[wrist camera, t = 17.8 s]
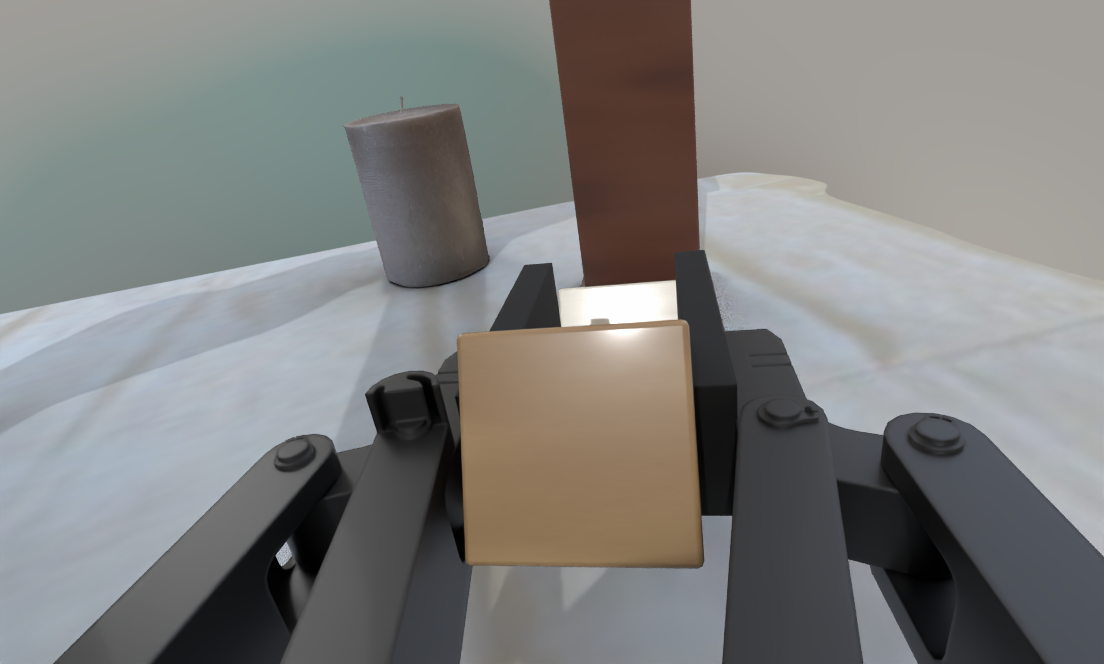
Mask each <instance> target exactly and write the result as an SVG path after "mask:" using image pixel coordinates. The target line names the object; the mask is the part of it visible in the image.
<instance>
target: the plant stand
mask: <svg viewBox="0 0 1104 664" xmlns="http://www.w3.org/2000/svg"><path fill="white" fill-rule="evenodd" d="M549 2H550V9H551V18H552V26H553V34H554V42H555V50H556V58H557V66H558V74H559V82H560V90H561V98H562V106H563V114H564V122H565V130H566V138H567V146H568V154H569V162H570V170H571V178H572V186H573V194H574V202H575V210H576V218H577V226H578V234H579V242H580V250H581V258H582V266H583V274H584V277H583V280H582V284H581V287H591V286H604V285H618V284H631V283H644V282H657V281H669V280H676V278H675V260H674V252H686V251H697V250H700V245H699V217H698V189H697V161H696V135H695V134H696V133H695V106H694V79H693V51H692V50H693V49H692V25H691V24H692V23H691V22H692V21H691V0H549ZM705 255H706V254H705ZM706 259H707V258H706ZM707 263H708V262H707ZM708 267H709V266H708ZM709 271H710V270H709ZM710 275H711V274H710ZM711 279H712V278H711ZM712 283H713V282H712ZM713 287H714V286H713ZM714 292H715V290H714ZM715 296H716V294H715ZM716 300H717V298H716ZM717 304H718V302H717ZM718 308H719V306H718ZM719 312H720V310H719ZM720 316H721V314H720ZM721 320H722V318H721ZM722 324H723V322H722ZM723 328H724V326H723ZM724 331H725V330H724Z"/></svg>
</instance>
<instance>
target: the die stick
mask: <svg viewBox="0 0 1104 664" xmlns="http://www.w3.org/2000/svg"><path fill="white" fill-rule="evenodd" d="M558 296H559V314H560V321H561V327H553V328H537V329H521V330H505V331H489V332H474V333H463V334H461V335H459V336H458V339H457V351H458V378H459V404H460V431H461V457H462V484H463V510H464V536H465V559H466V562H467V564H469V565H474V566H545V567H616V568H688V569H697V568H700V567H702V566H703V563H704V549H703V534H702V518H701V502H700V487H699V471H698V456H697V440H696V425H695V409H694V394H693V378H692V363H691V347H690V332H689V325H688V323H687V321H685V320H682V319H679V320H678V315H677V296H676V280H669V281H657V282H644V283H631V284H618V285H604V286H591V287H578V288H565V289H559V291H558Z"/></svg>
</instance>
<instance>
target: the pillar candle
mask: <svg viewBox="0 0 1104 664" xmlns="http://www.w3.org/2000/svg"><path fill="white" fill-rule="evenodd" d="M344 128H345V130H346V133H347V137H348V140H349V144H350V147H351V151H352V154H353V158H354V162H355V165H356V169H357V172H358V176H359V179H360V183H361V187H362V190H363V194H364V198H365V201H366V205H367V208H368V212H369V216H370V219H371V223H372V227H373V231H374V234H375V237H376V241H377V244H378V248H379V251H380V255H381V258H382V262H383V266H384V269H385V273H386V276H387V279H388V281H391V282H394V283H396V284H399V285H402V286H405V287H425V286H432V285H438V284H443V283H447V282H450V281H454V280H457V279H459V278H463V277H465V276H467V275H470V274H471V273H473V272H475V271H477V270H479V269H481V268H483V267H484V266H486V265H487V263H489V260H490V259H489V257H490V256H489V255H488V251H487V246H486V240H485V235H484V228H483V221H482V219H481V214H480V210H479V205H478V197H477V192H476V187H475V182H474V176H473V171H472V166H471V161H470V155H469V150H468V145H467V141H466V135H465V130H464V126H463V121H462V116H461V112H460V108H459V105H458V104H441V105H432V106H422V107H417V108H410V109H404V110H403V97H400V110H399V111H394V112H388V113H382V114H378V115H373V116H369V117H365V118H362V119H358V120H355V121H352V122H349V123H347V124H345V126H344Z"/></svg>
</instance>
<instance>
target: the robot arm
mask: <svg viewBox="0 0 1104 664" xmlns="http://www.w3.org/2000/svg"><path fill="white" fill-rule="evenodd" d="M674 260H675V278H676V296H677V315H678V320H679V319H682V320H685V321H687V323H688V325H689V332H690V347H691V363H692V378H693V394H694V409H695V425H696V440H697V456H698V471H699V487H700V502H701V516H732V530H731V545H730V559H729V574H728V588H727V603H726V617H725V632H724V646H723V661H722V664H863V658H862V651H861V644H860V637H859V631H858V624H857V617H856V610H855V603H854V597H853V590H852V583H851V576H850V569H849V563H848V559H849V560H853V561H857V562H861V563H865V564H869V565H870V568H871V572H872V574H873V576H874V578H875V580H876V582H877V584H878V586H879V588H880V590H881V592H882V594H883V596H884V598H885V600H886V602H887V604H888V606H889V607H890V609H891V611H892V613H893V615H894V617H895V619H896V621H897V623H898V625H899V627H900V629H901V631H902V633H903V635H904V637H905V639H906V641H907V643H908V645H909V647H910V649H911V651H912V653H913V655H914V657H915V658H916V660H917V662H918V664H1104V557H1103V556H1102V554H1101V553H1100V552H1099V551H1098V550H1097V549H1096V548H1095V547H1094V546H1093V545H1092V544H1091V543H1090V542H1089V541H1088V540H1087V539H1086V538H1085V537H1084V536H1083V535H1082V534H1081V533H1080V532H1079V531H1078V530H1077V529H1076V528H1075V527H1074V526H1073V525H1072V524H1071V523H1070V522H1069V521H1068V519H1067V518H1066V517H1065V516H1064V515H1063V514H1062V513H1061V512H1060V511H1059V510H1058V509H1057V508H1056V507H1055V506H1054V505H1053V504H1052V503H1051V502H1050V501H1049V500H1048V499H1047V498H1046V497H1045V496H1044V495H1043V494H1042V493H1041V492H1040V491H1039V490H1038V489H1037V488H1036V487H1035V486H1034V484H1033V483H1032V482H1031V481H1030V480H1029V479H1028V478H1027V477H1026V476H1025V475H1024V474H1023V473H1022V472H1021V471H1020V470H1019V469H1018V468H1017V467H1016V466H1015V465H1014V464H1013V463H1012V462H1011V461H1010V460H1009V459H1008V458H1007V457H1006V456H1005V455H1004V454H1003V453H1002V452H1001V451H1000V449H999V448H998V447H997V446H996V445H995V444H994V443H993V442H992V441H991V440H990V439H989V438H988V437H987V436H986V435H985V434H983V433H982V432H981V431H979V430H978V429H977V428H975V427H974V426H972V425H970V424H968V423H966V422H963V421H961V420H958V419H956V418H954V417H950V416H946V415H940V414H935V413H911V414H906V415H900V416H898V417H896V418H894V419H893V420H891V421H889V422H888V423H887V426H886V428H885V430H884V435H878V434H871V433H865V432H859V431H854V430H850V429H845V428H842V427H839V426H836V425H834V424H831V423H829V422H828V420H827V417H826V415H825V413H824V411H823V409H822V408H820V407H819V406H818V405H816V404H815V403H814V402H812V401H810V400H807V399H806V397H805V394H804V392H803V389H802V387H801V385H800V382H799V380H798V378H797V375H796V373H795V370H794V368H793V366H792V365H791V361H790V359H789V356H788V355H787V351H786V349H785V347H784V344H783V342H782V340H781V339H780V338H779V337H777V336H776V335H774V334H773V333H772V332H770V331H769V330H767V329H756V330H739V331H724V328H723V324H722V320H721V316H720V312H719V308H718V304H717V300H716V296H715V292H714V287H713V283H712V279H711V275H710V271H709V267H708V263H707V259H706V255H705V251H704V250H697V251H686V252H674ZM553 327H561V321H560V314H559V307H558V301H557V294H556V287H555V280H554V274H553V267H552V263H544V264H532V265H524V267H523V269H522V271H521V273H520V275H519V276H518V278H517V280H516V282H515V284H514V286H513V288H512V290H511V292H510V293H509V295H508V297H507V299H506V301H505V303H504V305H503V307H502V308H501V310H500V312H499V314H498V316H497V318H496V320H495V322H494V324H493V325H492V327H491V329H490V331H505V330H521V329H537V328H553ZM365 396H366V399H367V402H368V405H369V408H370V411H371V415H372V418H373V421H374V424H375V427H376V430H377V435H376V437H375V440H374V442H373V444H372V445H368V446H365V447H361V448H357V449H352V450H348V451H344V452H339V453H336V450H335V447H334V444H333V442H332V440H331V439H330V438H328V437H327V436H325V435H319V434H311V435H301V436H296V438H294V437H293V438H290V439H288V440H286V441H285V442H283V443H281V444H279V445H277V446H275V447H274V448H272V449H271V450H270V451H269V452H267V453H266V454H265V455H264V456H263V457H262V458H261V459H259V460H258V461H257V462H256V463H255V464H254V465H253V466H252V467H251V468H250V469H249V470H248V471H247V472H246V473H245V474H244V475H243V476H242V477H241V478H240V479H239V480H238V481H237V482H236V483H235V484H234V485H233V486H232V487H231V488H230V489H229V490H228V491H227V492H226V493H225V494H224V495H223V496H222V497H221V498H220V499H219V500H218V501H217V502H216V503H215V504H214V505H213V506H212V507H211V508H210V509H209V510H208V511H207V512H206V513H205V514H204V515H203V516H202V517H201V518H200V519H199V520H198V521H197V522H196V523H195V524H194V525H193V526H192V527H191V528H190V529H189V530H188V531H187V532H186V533H185V534H184V535H183V536H182V537H181V538H180V539H179V540H178V541H177V542H176V543H175V544H174V545H173V546H172V547H171V548H170V549H169V550H168V551H167V552H165V553H164V554H163V555H162V556H161V557H160V558H159V559H158V560H157V561H156V562H155V563H154V564H153V565H152V566H151V567H150V568H149V569H148V570H147V571H146V572H145V573H144V574H143V575H142V576H141V577H140V578H139V579H138V580H137V581H136V582H135V583H134V584H133V585H132V586H131V587H130V588H129V589H128V590H127V591H126V592H125V593H124V594H123V595H122V596H121V597H120V598H119V599H118V600H117V601H116V602H115V603H114V604H113V605H112V606H111V607H110V608H109V609H108V610H107V611H106V612H105V613H104V614H103V615H102V616H101V617H100V618H99V619H98V620H97V621H96V622H95V623H94V624H93V625H92V626H91V627H90V628H89V629H88V630H87V631H86V632H85V633H84V634H83V635H82V636H81V637H80V638H79V639H78V640H77V641H76V642H75V643H74V644H73V645H71V646H70V647H69V648H68V649H67V650H66V651H65V652H64V653H63V654H62V655H61V656H60V657H59V658H58V659H57V660H56V661H55V662H54V663H53V664H460V657H461V649H462V642H463V634H464V626H465V619H466V611H467V604H468V596H469V588H470V581H471V573H472V565H469V564H467V562H466V559H465V536H464V510H463V484H462V457H461V431H460V404H459V378H458V351H457V352H455V353H454V354H453V355H451V356H450V357H449V358H447V359H446V360H445V361H444V363H443V365H442V366H441V368H440V369H439V371H438V374H437V375H436V376H435V375H434V374H433V373H430V372H425V371H408V372H403V373H399V374H395V375H392V376H390V377H387V378H385V379H382V380H381V381H379V382H378V383H376V384H375V385H373V386H372V387H371V388H370V389H369V390H368V391H367V393H366V394H365ZM286 541H287V544H288V546H289V548H290V550H291V553H292V557H291V558H290V559H289V561H288V562H287V563H286V564H285V565H284V566H281V565H280V564H279V562H278V560H277V558H276V556H275V555H276V554H277V552H278V551H279V550H280V549H281V547H282V546H283V545H284V544H285V542H286Z"/></svg>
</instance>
